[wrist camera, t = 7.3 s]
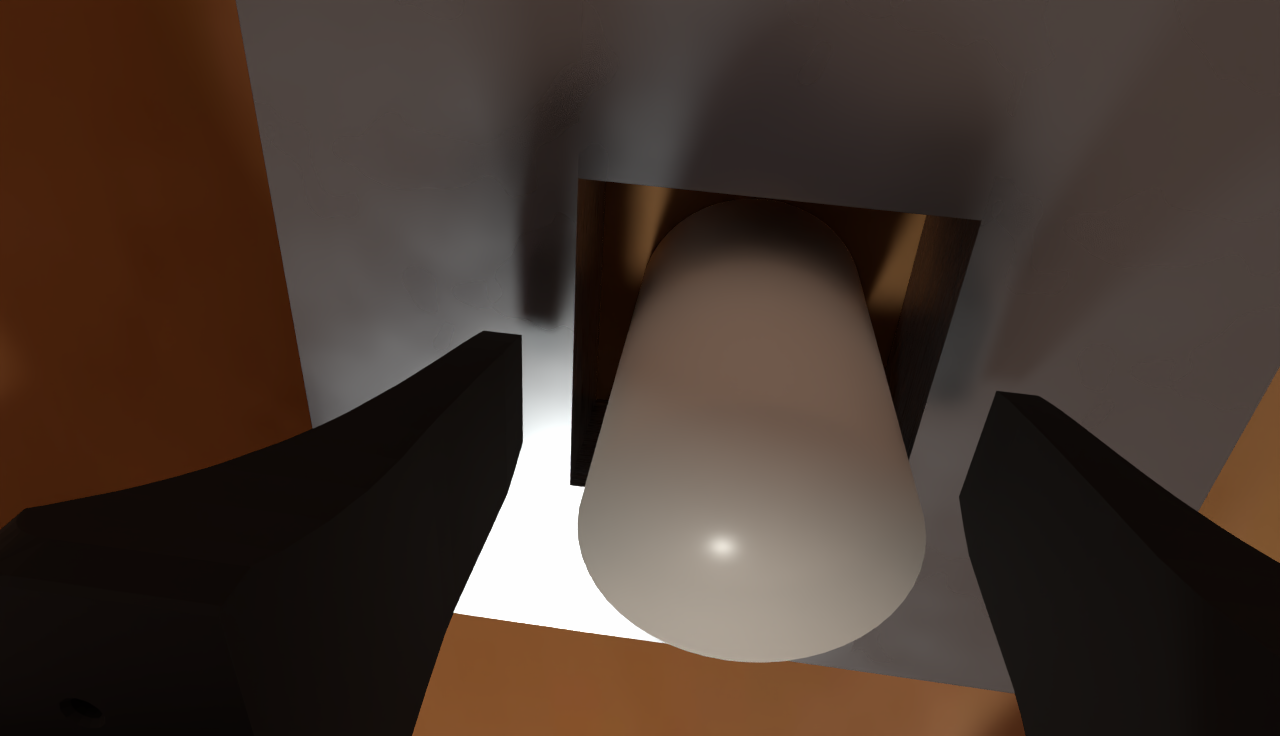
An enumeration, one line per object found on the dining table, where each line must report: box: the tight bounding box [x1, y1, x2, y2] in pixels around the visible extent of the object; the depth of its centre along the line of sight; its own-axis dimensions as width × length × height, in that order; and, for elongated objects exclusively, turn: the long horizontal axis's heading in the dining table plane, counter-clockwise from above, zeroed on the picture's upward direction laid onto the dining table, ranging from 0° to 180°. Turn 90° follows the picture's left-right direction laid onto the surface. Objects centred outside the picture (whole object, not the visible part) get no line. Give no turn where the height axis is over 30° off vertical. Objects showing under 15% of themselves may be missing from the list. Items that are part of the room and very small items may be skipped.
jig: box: [236, 0, 1280, 693], centre depth 15 cm, size 16×14×3 cm
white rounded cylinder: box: [577, 198, 926, 662], centre depth 13 cm, size 4×4×7 cm
